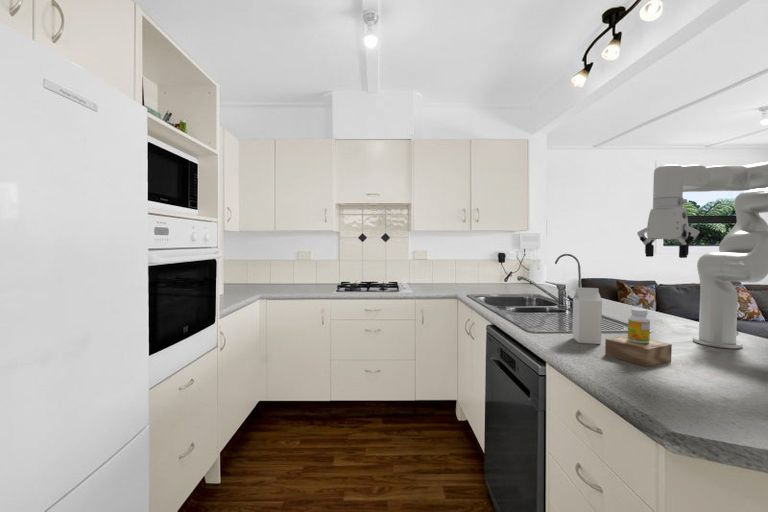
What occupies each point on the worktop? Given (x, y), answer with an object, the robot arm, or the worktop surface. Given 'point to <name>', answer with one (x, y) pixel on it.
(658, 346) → the pedestal
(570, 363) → the worktop surface
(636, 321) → the supplement bottle
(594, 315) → the milk carton
